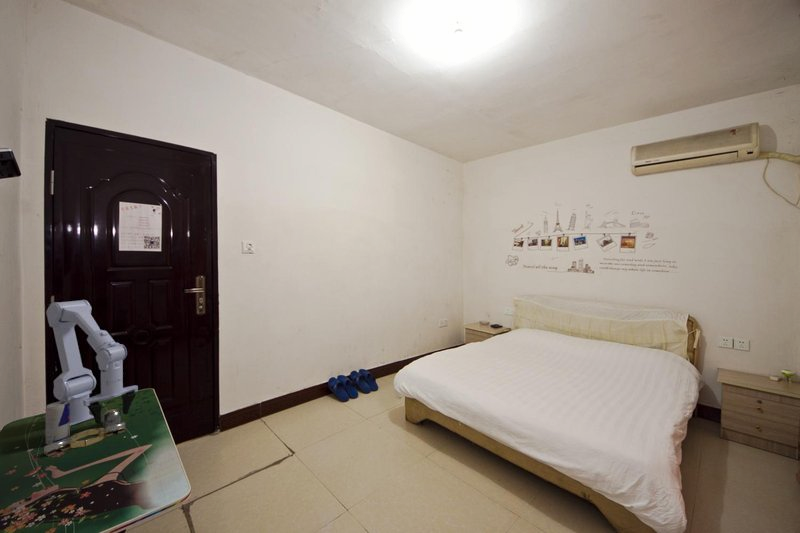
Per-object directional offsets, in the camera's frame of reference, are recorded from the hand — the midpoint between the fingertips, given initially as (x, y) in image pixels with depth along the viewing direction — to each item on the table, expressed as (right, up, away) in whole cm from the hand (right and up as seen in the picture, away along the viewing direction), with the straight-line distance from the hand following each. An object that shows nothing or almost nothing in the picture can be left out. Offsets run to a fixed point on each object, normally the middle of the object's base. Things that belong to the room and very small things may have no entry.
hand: (112, 418), depth 111 cm
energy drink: (-9, -3, -10) cm, 13 cm away
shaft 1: (-3, -3, -15) cm, 16 cm away
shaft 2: (+5, -3, -5) cm, 7 cm away
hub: (0, -3, 0) cm, 3 cm away
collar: (0, -3, -9) cm, 9 cm away
